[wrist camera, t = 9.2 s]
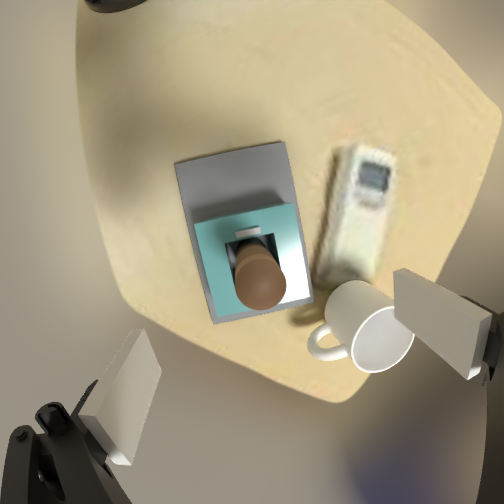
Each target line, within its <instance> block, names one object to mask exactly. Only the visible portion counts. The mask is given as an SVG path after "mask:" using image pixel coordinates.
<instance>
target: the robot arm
mask: <svg viewBox="0 0 504 504" xmlns="http://www.w3.org/2000/svg"><path fill="white" fill-rule="evenodd" d="M144 1H146V0H85V2H86V3H87V4H88V6H89V7H90V8H91V9H92V10H94V11H96V12H101V13H110V12H117V11H121V10H125V9H128V8H131V7H133V6H136V5H138V4H140V3H142V2H144ZM393 277H394V318H396V319H397V320H398V321H399V322H401V323H402V324H403V325H404V326H405V327H406V328H408V329H409V330H410V331H411V332H412V333H414V334H415V335H416V336H417V337H418V338H420V339H421V340H422V341H423V342H424V343H426V344H427V345H428V346H429V347H430V348H431V349H432V350H434V351H435V352H436V353H437V354H438V355H439V356H441V357H442V358H443V359H444V360H445V361H446V362H447V363H448V364H450V365H451V366H452V367H453V368H454V369H456V371H458V372H459V373H460V374H461V375H462V376H463V377H464V378H466V380H469V379H470V378H472V377H473V376H475V375H476V374H478V373H479V372H480V368H481V365H482V361H484V362H486V363H487V364H488V365H487V368H486V372H485V375H484V378H483V382H482V386H484V383H485V381H486V384H487V425H486V441H485V453H484V461H483V468H482V475H481V481H480V486H479V492H478V496H477V500H476V504H504V312H503V313H501V314H500V315H499V314H497V313H495V312H494V311H492V310H490V309H488V308H486V307H484V306H483V305H480V304H479V303H477V302H474V301H473V300H472V299H470V298H468V297H465V296H460V295H457V294H455V293H453V292H451V291H449V290H447V289H445V288H443V287H441V286H439V285H437V284H436V283H434V282H432V281H430V280H428V279H426V278H424V277H422V276H420V275H418V274H416V273H414V272H412V271H410V270H408V269H406V268H403V269H400V270H396V271H393ZM161 372H162V371H161V368H160V366H159V364H158V361H157V359H156V356H155V354H154V352H153V349H152V347H151V344H150V342H149V339H148V337H147V334H146V331H145V329H144V328H140V329H132V330H131V331H130V332H129V334H128V335H127V337H126V338H125V340H124V341H123V343H122V344H121V346H120V347H119V349H118V350H117V352H116V353H115V355H114V357H113V358H112V360H111V361H110V363H109V364H108V366H107V368H106V369H105V371H104V372H103V374H102V375H101V377H100V379H99V380H96V381H94V382H93V383H92V384H91V385H90V386H89V387H88V388H87V390H86V391H85V393H84V395H83V396H82V398H81V399H80V401H79V402H78V404H77V406H76V408H75V409H74V411H73V412H72V414H71V416H69V414H68V413H67V411H66V410H65V408H64V407H63V405H62V404H61V403H59V402H51V403H48V404H46V405H44V406H42V407H41V408H40V409H39V410H38V411H37V413H36V415H35V419H36V421H37V422H38V424H39V425H40V426H41V428H42V429H43V430H44V432H45V433H44V434H36V433H35V431H34V430H33V429H32V427H31V426H28V425H23V426H20V427H18V428H16V429H15V430H14V431H13V433H12V434H11V436H10V439H9V444H8V449H7V454H6V460H5V466H4V472H3V479H2V487H1V498H0V504H132V503H131V501H130V500H129V498H128V497H127V495H126V494H125V492H124V491H123V489H122V488H121V486H120V485H119V483H118V481H117V480H116V478H115V476H114V474H113V473H112V471H111V469H110V468H109V466H108V465H107V464H106V463H105V460H106V457H107V455H108V456H109V457H110V459H111V460H112V461H113V462H114V463H115V464H121V465H132V462H133V459H134V456H135V452H136V449H137V445H138V442H139V439H140V436H141V433H142V430H143V426H144V423H145V420H146V417H147V414H148V411H149V408H150V405H151V402H152V398H153V396H154V393H155V390H156V387H157V384H158V381H159V378H160V375H161ZM38 474H39V475H40V478H39V475H38Z"/></svg>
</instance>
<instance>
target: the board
mask: <svg viewBox="0 0 504 504" xmlns="http://www.w3.org/2000/svg"><path fill="white" fill-rule="evenodd" d="M175 168H176V173H177V178H178V183H179V188H180V193H181V197H182V202H183V206H184V211H185V215H186V220H187V224H188V228H189V232H190V237H191V241H192V245H193V249H194V253H195V257H196V261H197V265H198V269H199V273H200V277H201V281H202V284H203V288H204V292H205V295H206V299H207V303H208V306H209V310H210V314H211V317H212V321H213V324H219V323H224V322H229V321H234V320H239V319H243V318H248V317H253V316H257V315H262V314H266V313H271V312H275V311H280V310H284V309H288V308H292V307H296V306H301V305H305V304H309V303H313V302H314V298H313V291H312V284H311V278H310V271H309V265H308V259H307V253H306V247H305V241H304V235H303V230H302V224H301V219H300V213H299V208H298V203H297V198H296V193H295V188H294V183H293V178H292V173H291V168H290V163H289V159H288V154H287V150H286V145H285V142H280V143H274V144H268V145H262V146H257V147H251V148H246V149H241V150H236V151H231V152H226V153H222V154H217V155H212V156H208V157H204V158H200V159H195V160H191V161H187V162H183V163H179V164H176V165H175ZM282 202H289V203H294V208H295V213H296V218H297V224H298V229H299V235H300V240H301V246H302V252H303V258H304V264H305V270H306V276H307V282H308V289H309V295H310V297H306V298H302V299H298V300H294V301H290V302H286V303H281V304H277V305H276V306H274V307H273V308H270V309H268V310H261V311H259V310H250V311H245V312H241V313H236V314H231V315H226V316H221V317H217V313H216V310H215V306H214V302H213V299H212V295H211V291H210V287H209V283H208V280H207V276H206V272H205V268H204V264H203V260H202V256H201V252H200V248H199V243H198V239H197V235H196V231H195V226H194V224H195V223H196V222H198V221H199V220H203V219H207V218H211V217H216V216H220V215H225V214H229V213H234V212H238V211H243V210H248V209H253V208H257V207H262V206H267V205H272V204H277V203H282ZM254 238H257V239H259V240H261V241H262V242H263V243H264V245H265V246H266V248H267V249H268V251H269V252H270V254H271V255H272V256H273V251H272V246H271V241H270V236H269V234H265V235H261V236H256V237H254ZM242 240H243V239H242ZM242 240H238V241H233V242H229V243H227V245H228V250H229V254H230V258H231V263H232V267H233V271H234V276H235V264H236V248H237V246H238V244H239V243H240V242H241V241H242ZM273 258H274V256H273Z"/></svg>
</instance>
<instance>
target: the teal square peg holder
mask: <svg viewBox="0 0 504 504" xmlns="http://www.w3.org/2000/svg"><path fill="white" fill-rule="evenodd" d="M194 226H195V231H196V235H197V239H198V243H199V248H200V252H201V256H202V260H203V264H204V268H205V272H206V276H207V280H208V283H209V287H210V291H211V295H212V299H213V302H214V306H215V310H216V313H217V317H221V316H226V315H231V314H236V313H241V312H245V311H250V310H253V309H250V308H248V307H246V306H245V305H244V304H242V303H241V301H240V300H239V299H238V297H237V295H236V291H235V276H234V271H233V267H232V263H231V258H230V254H229V250H228V245H227V243H229V242H233V241H238V240H242V239H247V238H252V237H256V236H261V235H265V234H269V236H270V241H271V246H272V251H273V256H274V259H275V261H276V262H277V264H278V265H279V267H280V268H281V270H282V271H283V273H284V275H285V277H286V282H287V288H286V293H285V295H284V297H283V299H282V300H281V301H280V302H279V303H278V304H281V303H286V302H290V301H294V300H298V299H302V298H306V297H310V295H309V289H308V282H307V276H306V270H305V264H304V258H303V252H302V246H301V240H300V235H299V229H298V224H297V218H296V213H295V208H294V203H289V202H282V203H277V204H272V205H267V206H262V207H257V208H253V209H248V210H243V211H238V212H234V213H229V214H225V215H220V216H216V217H211V218H207V219H203V220H199V221H198V222H196V223H195V224H194Z"/></svg>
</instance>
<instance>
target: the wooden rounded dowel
mask: <svg viewBox="0 0 504 504" xmlns="http://www.w3.org/2000/svg"><path fill="white" fill-rule="evenodd" d="M286 288H287V282H286V277H285V275H284V273H283V271H282V270H281V268H280V267H279V265H278V264H277V262H276V261H275V259H274V258H273V256H272V255H271V254H270V252H269V251H268V249H267V248H266V246H265V245H264V243H263V242H262V241H261V240H259V239H257V238H254V237H252V238H247V239H243V240H242V241H241V242H240V243H239V244H238V246H237V248H236V264H235V291H236V295H237V297H238V299H239V300H240V301H241V303H242V304H244V305H245V306H246V307H248V308H250V309H253V310H259V311H261V310H268V309H270V308H273V307H274V306H276V305H277V304H278V303H279V302H280V301H281V300H282V299H283V297H284V295H285V293H286Z"/></svg>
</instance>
